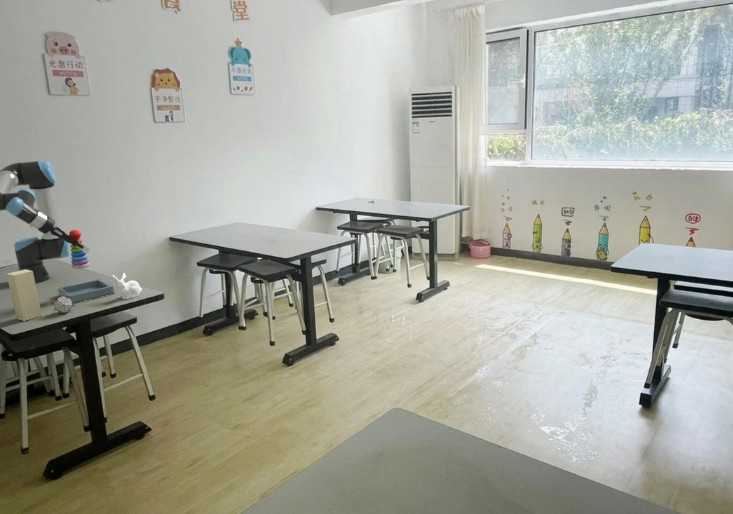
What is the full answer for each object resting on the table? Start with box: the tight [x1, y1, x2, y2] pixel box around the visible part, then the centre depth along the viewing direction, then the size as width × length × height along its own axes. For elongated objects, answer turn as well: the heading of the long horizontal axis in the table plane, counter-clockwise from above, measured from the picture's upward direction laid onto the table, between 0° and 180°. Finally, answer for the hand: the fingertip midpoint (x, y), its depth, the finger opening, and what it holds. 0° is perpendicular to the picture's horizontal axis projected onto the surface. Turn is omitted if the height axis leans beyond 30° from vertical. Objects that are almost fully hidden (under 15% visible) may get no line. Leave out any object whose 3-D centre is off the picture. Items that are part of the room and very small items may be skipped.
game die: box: [51, 295, 76, 315], centre depth 244 cm, size 9×8×10 cm
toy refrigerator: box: [6, 270, 42, 322], centre depth 239 cm, size 8×7×21 cm
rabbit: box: [111, 272, 143, 300], centre depth 263 cm, size 12×9×12 cm
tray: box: [57, 278, 115, 305], centre depth 270 cm, size 20×20×4 cm
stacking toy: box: [68, 229, 91, 270], centre depth 264 cm, size 8×8×19 cm
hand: (86, 250), depth 267 cm, fingers closed on stacking toy, 6 cm apart
